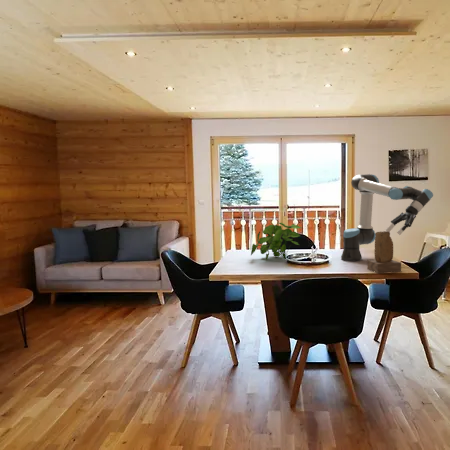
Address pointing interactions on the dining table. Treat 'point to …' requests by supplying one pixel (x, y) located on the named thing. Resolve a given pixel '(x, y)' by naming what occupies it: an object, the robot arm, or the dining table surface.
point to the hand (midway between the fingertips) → (392, 232)
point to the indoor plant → (275, 239)
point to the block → (383, 247)
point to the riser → (384, 266)
